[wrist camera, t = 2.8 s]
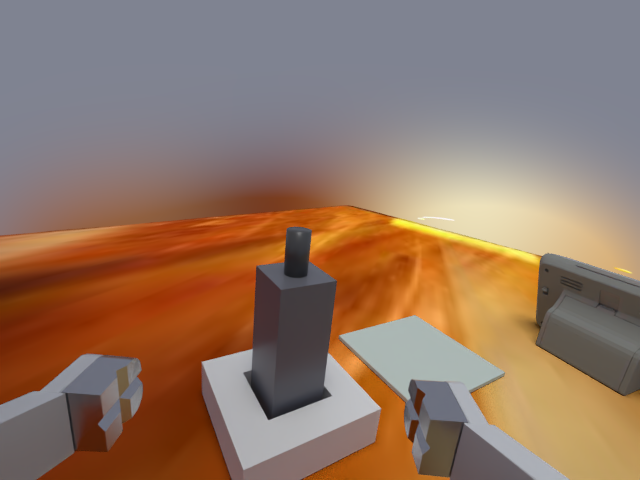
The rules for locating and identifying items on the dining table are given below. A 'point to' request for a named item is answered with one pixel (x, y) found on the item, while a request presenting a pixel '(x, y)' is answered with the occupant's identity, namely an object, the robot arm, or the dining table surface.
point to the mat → (418, 356)
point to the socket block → (285, 422)
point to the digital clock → (590, 320)
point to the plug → (291, 329)
